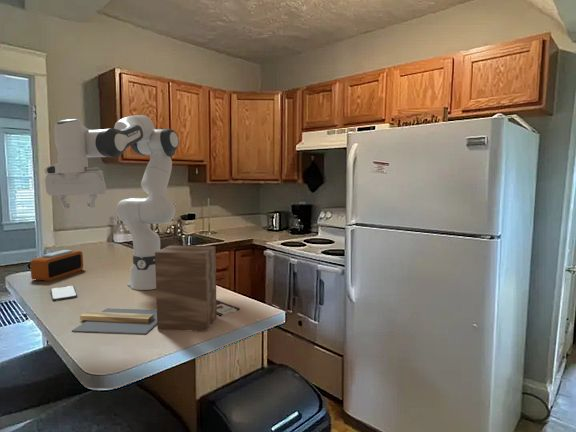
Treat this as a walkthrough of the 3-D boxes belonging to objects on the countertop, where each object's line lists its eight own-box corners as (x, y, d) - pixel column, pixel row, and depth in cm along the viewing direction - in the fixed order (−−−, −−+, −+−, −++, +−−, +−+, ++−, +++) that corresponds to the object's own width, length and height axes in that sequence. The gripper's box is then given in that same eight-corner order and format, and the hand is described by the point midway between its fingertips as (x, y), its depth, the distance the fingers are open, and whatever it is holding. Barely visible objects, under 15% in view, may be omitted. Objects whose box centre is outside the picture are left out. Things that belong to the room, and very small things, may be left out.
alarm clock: (46, 282, 174) (45, 257, 173) (31, 281, 176) (29, 257, 175) (83, 269, 198) (82, 248, 196) (69, 268, 199) (68, 247, 198)
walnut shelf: (171, 315, 133) (169, 245, 130) (216, 317, 132) (215, 246, 129) (157, 329, 121) (154, 252, 118) (206, 331, 120) (205, 253, 117)
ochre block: (87, 315, 132) (87, 311, 131) (153, 318, 129) (153, 314, 129) (80, 319, 128) (80, 315, 127) (148, 323, 125) (148, 318, 125)
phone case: (77, 299, 152) (74, 288, 165) (77, 295, 152) (73, 285, 165) (52, 303, 147) (50, 292, 160) (51, 299, 147) (49, 288, 160)
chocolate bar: (210, 297, 151) (239, 308, 139) (210, 299, 151) (239, 311, 139) (191, 303, 145) (219, 315, 132) (191, 305, 145) (219, 317, 132)
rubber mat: (106, 309, 139) (106, 308, 139) (170, 311, 137) (170, 310, 137) (71, 331, 119) (71, 330, 119) (145, 334, 117) (145, 333, 117)
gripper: (107, 166, 131) (112, 206, 133) (53, 168, 133) (58, 207, 136) (96, 167, 125) (101, 208, 127) (39, 169, 127) (45, 209, 130)
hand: (78, 207), depth 131 cm, fingers open, 8 cm apart
